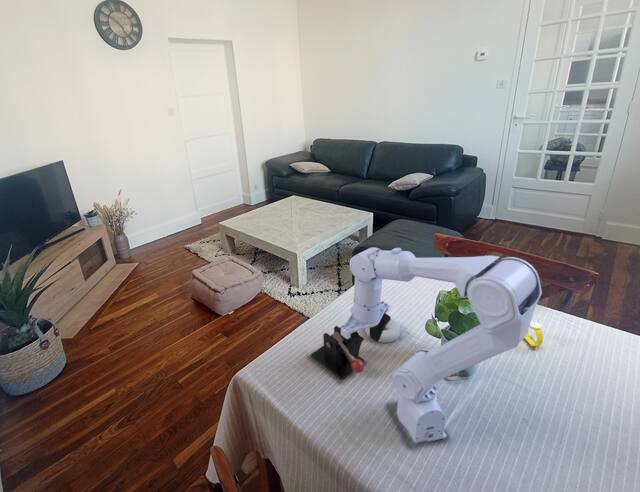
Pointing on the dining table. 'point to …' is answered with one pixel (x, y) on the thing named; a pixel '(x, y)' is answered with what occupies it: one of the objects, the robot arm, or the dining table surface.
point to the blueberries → (452, 376)
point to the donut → (388, 332)
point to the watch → (539, 334)
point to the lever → (355, 363)
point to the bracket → (333, 356)
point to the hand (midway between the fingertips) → (364, 346)
